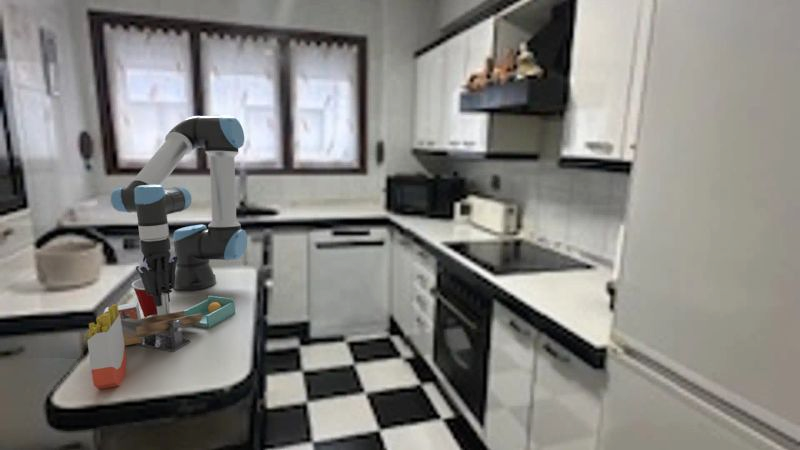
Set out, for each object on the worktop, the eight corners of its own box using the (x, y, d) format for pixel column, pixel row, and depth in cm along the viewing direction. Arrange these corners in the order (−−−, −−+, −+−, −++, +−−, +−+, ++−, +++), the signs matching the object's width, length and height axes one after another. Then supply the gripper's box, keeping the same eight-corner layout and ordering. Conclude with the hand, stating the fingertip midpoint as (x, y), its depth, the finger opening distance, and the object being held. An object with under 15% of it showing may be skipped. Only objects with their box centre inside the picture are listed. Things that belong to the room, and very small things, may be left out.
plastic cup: (157, 324, 135) (153, 288, 132) (128, 322, 137) (122, 285, 135) (181, 311, 145) (177, 276, 143) (153, 308, 147) (149, 275, 145)
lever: (163, 317, 135) (164, 304, 136) (201, 323, 131) (202, 310, 131) (94, 331, 115) (95, 316, 115) (136, 338, 110) (138, 323, 110)
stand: (154, 335, 127) (151, 312, 126) (190, 342, 123) (187, 318, 122) (136, 345, 122) (133, 321, 120) (173, 351, 118) (170, 327, 116)
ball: (204, 314, 140) (213, 313, 144) (214, 316, 139) (223, 314, 142) (205, 302, 140) (214, 301, 144) (216, 303, 139) (224, 302, 143)
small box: (109, 349, 119) (101, 313, 117) (112, 342, 124) (105, 307, 122) (143, 342, 122) (136, 306, 120) (144, 335, 127) (138, 300, 125)
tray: (210, 309, 146) (209, 295, 145) (235, 313, 143) (234, 298, 142) (182, 324, 135) (181, 308, 134) (209, 328, 132) (207, 312, 131)
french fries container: (93, 396, 98) (80, 321, 94) (107, 372, 108) (96, 303, 104) (116, 392, 99) (105, 318, 96) (128, 368, 109) (118, 301, 106)
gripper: (163, 232, 134) (171, 305, 139) (124, 242, 122) (134, 321, 126) (183, 234, 132) (190, 307, 137) (144, 244, 119) (154, 325, 124)
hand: (163, 314), depth 131 cm, fingers closed
